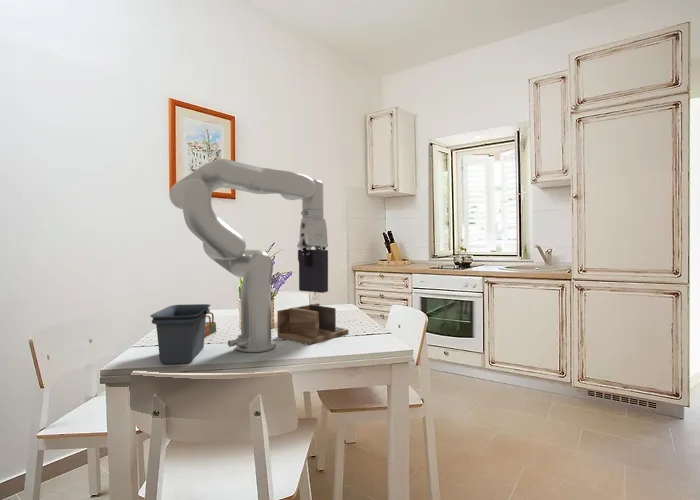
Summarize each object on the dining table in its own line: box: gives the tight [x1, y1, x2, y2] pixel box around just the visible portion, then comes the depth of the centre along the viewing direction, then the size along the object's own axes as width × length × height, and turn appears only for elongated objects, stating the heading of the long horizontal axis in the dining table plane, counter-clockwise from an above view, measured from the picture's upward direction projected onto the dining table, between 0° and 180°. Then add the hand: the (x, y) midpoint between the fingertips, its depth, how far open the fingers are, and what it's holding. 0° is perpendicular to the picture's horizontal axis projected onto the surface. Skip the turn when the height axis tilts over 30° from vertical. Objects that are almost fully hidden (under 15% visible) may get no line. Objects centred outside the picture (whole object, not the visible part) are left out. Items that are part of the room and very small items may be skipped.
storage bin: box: [149, 303, 215, 365], centre depth 126 cm, size 21×16×14 cm
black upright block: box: [297, 248, 329, 294], centre depth 150 cm, size 11×4×15 cm, turn 58°
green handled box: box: [204, 321, 217, 339], centre depth 150 cm, size 8×16×4 cm, turn 172°
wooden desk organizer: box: [276, 302, 349, 346], centre depth 151 cm, size 20×16×10 cm
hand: (313, 265), depth 150 cm, fingers closed on black upright block, 4 cm apart
